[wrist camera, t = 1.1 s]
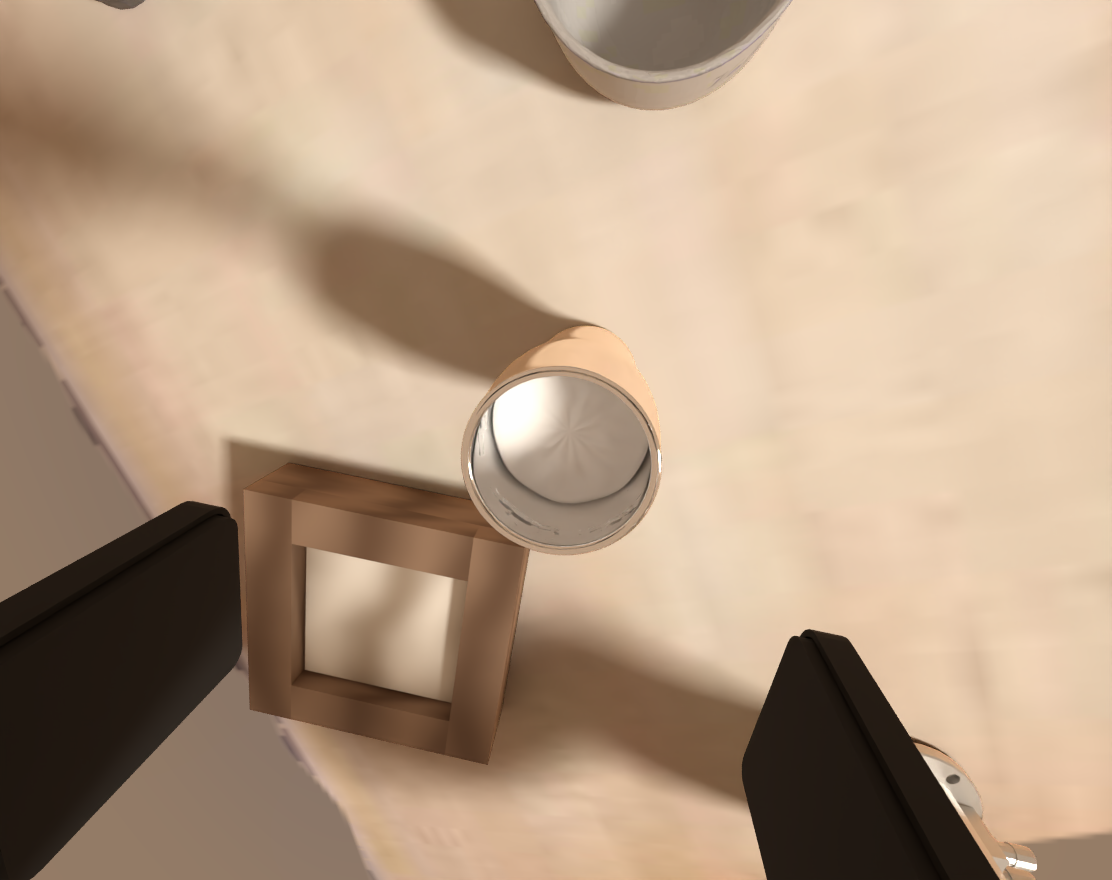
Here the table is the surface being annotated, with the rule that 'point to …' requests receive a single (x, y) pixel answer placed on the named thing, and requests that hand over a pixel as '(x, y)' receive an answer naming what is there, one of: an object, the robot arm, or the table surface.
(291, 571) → the frame
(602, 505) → the beer glass
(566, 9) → the teacup
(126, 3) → the beverage cup
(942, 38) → the table surface
